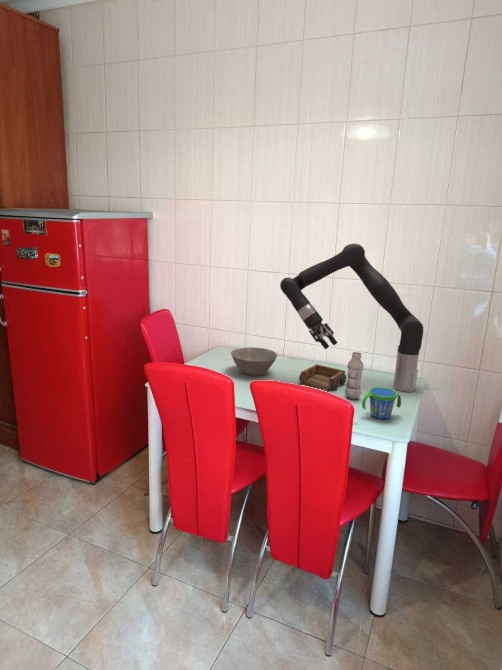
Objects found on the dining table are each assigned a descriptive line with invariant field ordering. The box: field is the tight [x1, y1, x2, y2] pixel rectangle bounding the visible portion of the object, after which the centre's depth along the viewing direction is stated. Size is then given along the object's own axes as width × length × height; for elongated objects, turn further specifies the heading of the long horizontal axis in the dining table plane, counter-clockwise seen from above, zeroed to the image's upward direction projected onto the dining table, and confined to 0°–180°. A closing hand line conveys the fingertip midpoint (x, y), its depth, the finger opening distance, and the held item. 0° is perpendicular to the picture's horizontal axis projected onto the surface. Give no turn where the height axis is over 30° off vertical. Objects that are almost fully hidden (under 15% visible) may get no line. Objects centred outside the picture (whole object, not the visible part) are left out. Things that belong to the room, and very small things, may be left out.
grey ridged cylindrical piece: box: [344, 351, 364, 400], centre depth 197 cm, size 6×7×20 cm
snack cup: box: [361, 386, 402, 420], centre depth 181 cm, size 16×10×10 cm
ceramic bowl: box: [230, 346, 278, 377], centre depth 225 cm, size 22×23×10 cm
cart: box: [298, 363, 347, 393], centre depth 213 cm, size 20×17×6 cm
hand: (331, 346), depth 200 cm, fingers open, 8 cm apart
